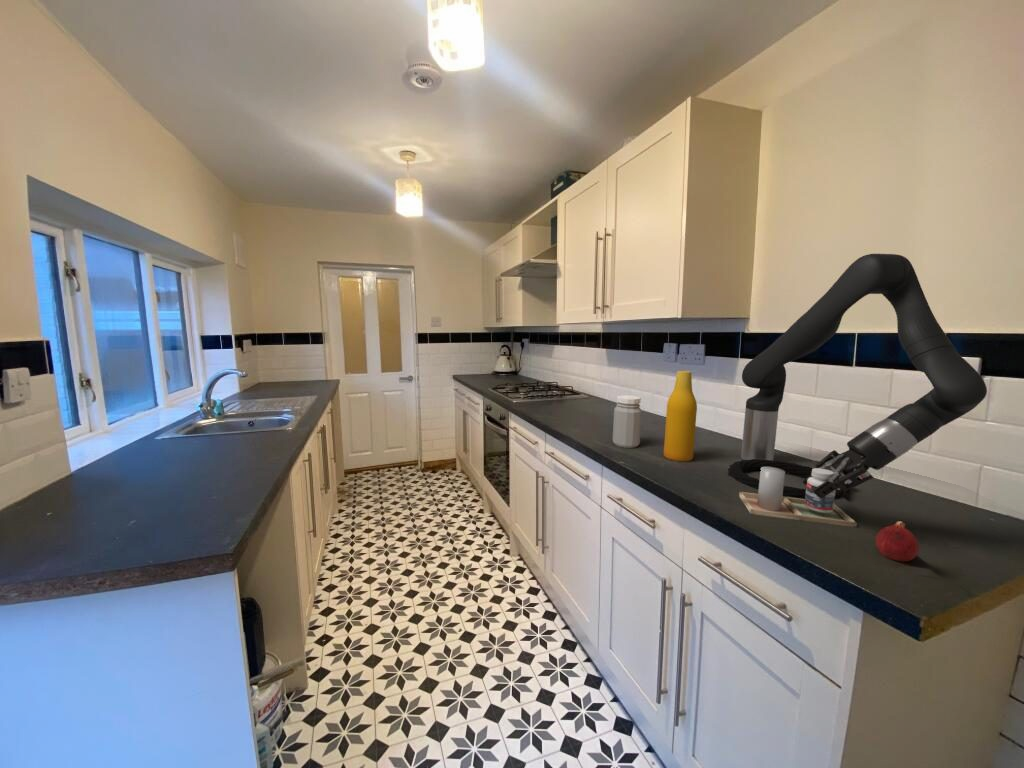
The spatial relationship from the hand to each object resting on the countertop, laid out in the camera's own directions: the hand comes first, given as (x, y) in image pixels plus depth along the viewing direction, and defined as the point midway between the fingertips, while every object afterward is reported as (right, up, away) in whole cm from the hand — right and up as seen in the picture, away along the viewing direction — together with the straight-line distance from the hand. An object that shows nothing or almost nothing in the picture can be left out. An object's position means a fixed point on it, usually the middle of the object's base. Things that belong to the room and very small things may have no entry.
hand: (811, 489), depth 93 cm
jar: (-26, +1, +58) cm, 64 cm away
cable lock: (+9, -5, +21) cm, 23 cm away
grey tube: (-8, -5, +3) cm, 10 cm away
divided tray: (-3, -6, +2) cm, 7 cm away
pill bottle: (+2, -4, 0) cm, 5 cm away
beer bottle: (-13, -1, +44) cm, 46 cm away
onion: (+3, -9, -17) cm, 20 cm away
